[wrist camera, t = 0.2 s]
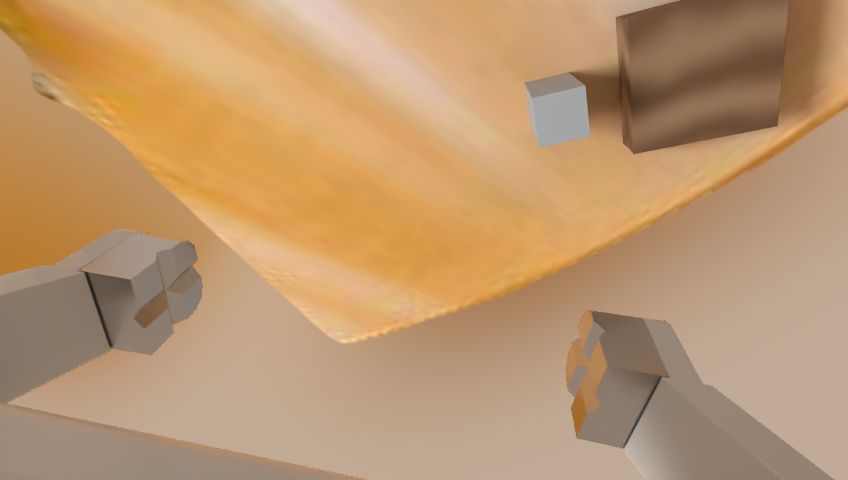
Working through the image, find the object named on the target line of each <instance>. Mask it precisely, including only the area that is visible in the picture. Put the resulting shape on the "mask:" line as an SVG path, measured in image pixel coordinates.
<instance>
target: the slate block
mask: <svg viewBox="0 0 848 480" xmlns="http://www.w3.org/2000/svg"><path fill="white" fill-rule="evenodd" d="M525 90H526V96H527V103H528V110H529V116H530V123H531V127H532V130H533V133H534V135H535V138H536V141H537V144H538V146H539V147H544V146H549V145H553V144H558V143H563V142H568V141H573V140H577V139H582V138H587V137H590V130H589V119H588V108H587V97H586V86H585V85H584V84H583V83H582V82H580V81H579V80H578V79H576V78H575V77H574V76H573V75H571V74H570V73H569V72H568V73H564V74H560V75H556V76H552V77H548V78H544V79H540V80H536V81H531V82H527V83H525Z"/></svg>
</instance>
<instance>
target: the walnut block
mask: <svg viewBox="0 0 848 480" xmlns="http://www.w3.org/2000/svg"><path fill="white" fill-rule="evenodd" d="M788 10H789V0H680V1H676V2H672V3H668V4H664V5H661V6H657V7H653V8H649V9H645V10H642V11H638V12H634V13H630V14H626V15H623V16H619V17H616V30H617V47H618V65H619V82H620V99H621V117H622V134H623V143H624V144H625V145H626V146H627V147H628V148H629V149H630V150H631V151H632V152H633V153H634V154H636V153H641V152H646V151H652V150H657V149H662V148H667V147H672V146H677V145H682V144H688V143H693V142H698V141H703V140H708V139H713V138H719V137H724V136H729V135H734V134H739V133H744V132H749V131H755V130H760V129H765V128H770V127H775V126H777V124H778V113H779V103H780V93H781V82H782V72H783V62H784V51H785V41H786V30H787V20H788Z"/></svg>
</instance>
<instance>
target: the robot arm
mask: <svg viewBox="0 0 848 480" xmlns="http://www.w3.org/2000/svg"><path fill="white" fill-rule="evenodd" d="M197 259H198V258H197V254H196V249H195V246H194V245H193V244H192V243H190V242H189V241H187V240H182V239H176V238H171V237H166V236H160V235H156V234H151V233H143V232H140V231H133V230H128V229H114V230H113V231H111V232H109V233H107V234H106V235H104V236H102V237H101V238H99V239H97V240H96V241H94V242H92V243H91V244H89V245H87V246H85V247H84V248H82V249H80V250H78V251H77V252H75V253H73V254H72V255H70V256H68V257H67V258H65V259H63V260H61V261H60V262H58V263H56V264H54V265H53V266H47V265H42V266H38V267H34V268H30V269H26V270H22V271H18V272H13V273H9V274H6V275H1V276H0V480H367V479H363V478H357V477H353V476H348V475H344V474H339V473H334V472H329V471H325V470H320V469H315V468H310V467H305V466H301V465H296V464H291V463H286V462H282V461H277V460H272V459H268V458H263V457H257V456H253V455H249V454H244V453H239V452H234V451H229V450H225V449H220V448H215V447H211V446H206V445H201V444H196V443H192V442H187V441H182V440H177V439H172V438H168V437H163V436H158V435H154V434H149V433H143V432H139V431H134V430H130V429H125V428H120V427H116V426H111V425H106V424H101V423H96V422H92V421H87V420H82V419H78V418H73V417H68V416H63V415H59V414H54V413H48V412H44V411H40V410H34V409H30V408H25V407H20V406H16V405H11V404H6V403H8V402H10V401H12V400H14V399H16V398H18V397H20V396H22V395H24V394H26V393H28V392H29V391H32V390H33V389H35V388H37V387H40V386H41V385H43V384H45V383H47V382H49V381H51V380H53V379H55V378H57V377H59V376H61V375H63V374H65V373H67V372H69V371H71V370H73V369H75V368H77V367H79V366H81V365H83V364H85V363H87V362H89V361H91V360H93V359H95V358H97V357H99V356H101V355H103V354H105V353H107V352H109V351H110V350H111V349H117V350H123V351H129V352H136V353H142V354H148V355H152V354H153V353H154V352H155V351H156V350H157V349H158V348H159V347H160V346H161V345H162V344H163V343H164V342H165V341H166V340H167V339H168V338H169V337H170V336H171V335H172V334H173V332H174V324H176V323H178V322H180V321H183V320H185V319H188V317H189V316H190V315H191V314H192V313H193V312H194V311H195V310H196V308H197V306H198V304H199V302H200V299H201V297H202V287H203V286H202V280H201V276H200V275H199V274H198V273H197V271H196V270H195V269H194V268H193V265H194V264H195V262H196V261H197ZM578 328H579V333H580V338H579V339H577V340H576V341H574V342H572V343H571V347H570V350H569V353H568V357H567V364H566V382H567V388H568V390H569V391H570V393H571V394H572V395H573V396H574V397H575V399H574V402H573V404H572V407H571V411H572V416H573V421H574V427H575V432H576V437H577V438H579V439H583V440H588V441H592V442H597V443H602V444H606V445H610V446H615V447H619V448H624V452H625V453H626V455H627V456H628V457H629V459H630V460H631V461H632V463H633V464H634V465H635V467H636V468H637V469H638V470H639V472H640V473H641V474H642V476H643V477H644V478H645V480H834V479H833V478H831V477H830V476H829V475H828V474H826V473H825V472H824V471H822V470H821V469H820V468H818V467H817V466H816V465H815V464H813V463H812V462H811V461H809V460H808V459H807V458H805V457H804V456H803V455H801V454H800V453H799V452H798V451H796V450H795V449H794V448H792V447H791V446H790V445H788V444H787V443H786V442H784V441H783V440H782V439H780V438H779V437H778V436H777V435H775V434H774V433H773V432H771V431H770V430H769V429H768V428H766V427H765V426H764V425H762V424H761V423H760V422H758V421H757V420H756V419H755V418H753V417H752V416H751V415H749V414H748V413H747V412H745V411H744V410H743V409H742V408H740V407H739V406H738V405H736V404H735V403H734V402H732V401H731V400H730V399H729V398H727V397H726V396H724V395H723V394H722V393H721V392H719V391H718V390H717V389H715V388H714V387H713V386H710V385H704V384H703V383H702V381H701V379H700V377H699V376H698V374H697V372H696V370H695V368H694V367H693V365H692V363H691V361H690V359H689V357H688V356H687V354H686V352H685V350H684V348H683V346H682V344H681V343H680V341H679V339H678V337H677V335H676V334H675V331H674V330H673V328H672V326H671V325H670V324H669V323H667V322H666V321H661V320H654V319H646V318H640V317H639V318H636V317H630V316H623V315H617V314H610V313H604V312H598V311H592V310H585V311H584V313H583V314H582V316H581V318H580V321H579V324H578ZM110 348H111V349H110Z"/></svg>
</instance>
